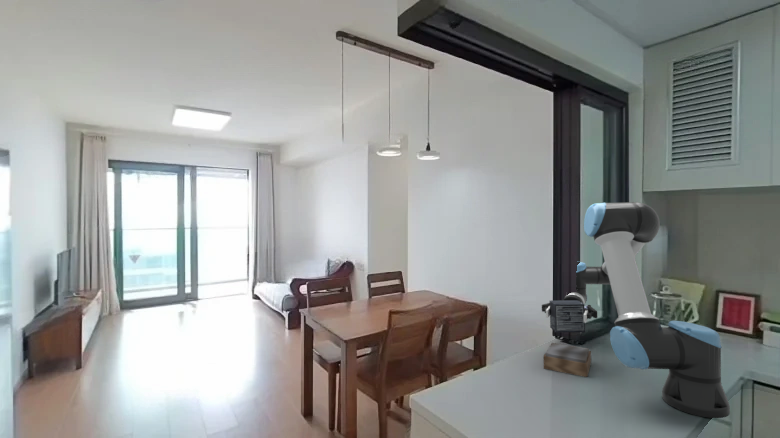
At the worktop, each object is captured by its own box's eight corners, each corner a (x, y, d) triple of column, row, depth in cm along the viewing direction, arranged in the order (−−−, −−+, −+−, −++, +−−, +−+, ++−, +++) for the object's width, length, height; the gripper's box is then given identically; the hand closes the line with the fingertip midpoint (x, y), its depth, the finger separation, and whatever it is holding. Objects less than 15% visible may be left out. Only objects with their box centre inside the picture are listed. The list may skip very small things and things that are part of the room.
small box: (578, 327, 138) (578, 299, 137) (586, 333, 131) (585, 303, 131) (549, 327, 139) (548, 299, 139) (555, 332, 132) (555, 303, 132)
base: (591, 363, 137) (590, 348, 137) (587, 377, 125) (587, 361, 125) (550, 355, 145) (550, 341, 145) (543, 368, 133) (543, 353, 133)
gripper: (607, 316, 143) (603, 331, 125) (542, 308, 156) (530, 321, 138) (607, 297, 143) (603, 310, 125) (542, 291, 156) (530, 301, 138)
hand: (565, 316), depth 132 cm, fingers closed on small box, 12 cm apart
